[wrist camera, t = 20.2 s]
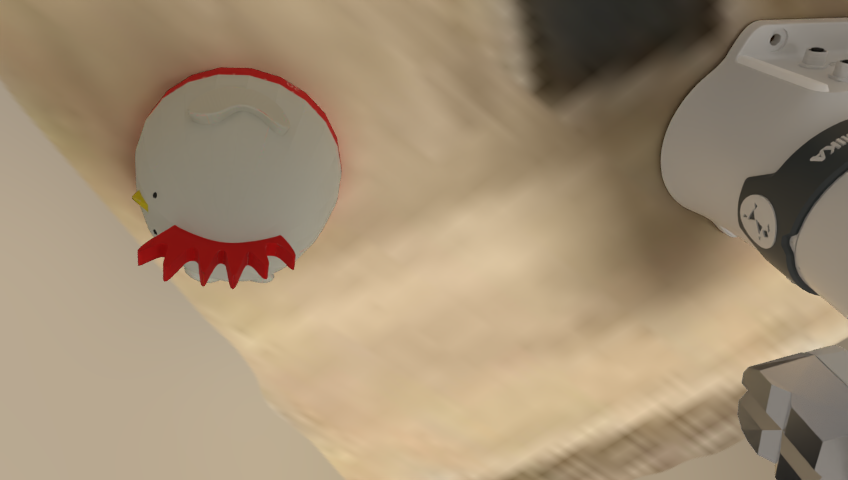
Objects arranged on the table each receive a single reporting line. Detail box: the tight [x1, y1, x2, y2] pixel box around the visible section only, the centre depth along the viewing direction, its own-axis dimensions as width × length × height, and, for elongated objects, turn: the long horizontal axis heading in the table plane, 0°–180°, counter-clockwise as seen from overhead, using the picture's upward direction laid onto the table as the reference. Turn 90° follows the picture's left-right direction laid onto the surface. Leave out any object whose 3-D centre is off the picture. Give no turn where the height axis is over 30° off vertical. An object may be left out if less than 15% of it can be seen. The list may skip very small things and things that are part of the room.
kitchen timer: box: [132, 68, 342, 289], centre depth 37 cm, size 14×14×15 cm
